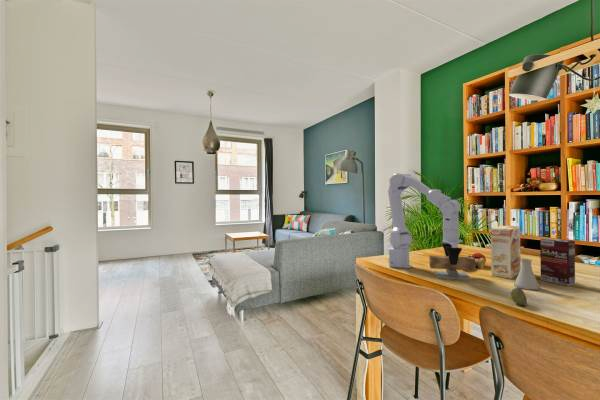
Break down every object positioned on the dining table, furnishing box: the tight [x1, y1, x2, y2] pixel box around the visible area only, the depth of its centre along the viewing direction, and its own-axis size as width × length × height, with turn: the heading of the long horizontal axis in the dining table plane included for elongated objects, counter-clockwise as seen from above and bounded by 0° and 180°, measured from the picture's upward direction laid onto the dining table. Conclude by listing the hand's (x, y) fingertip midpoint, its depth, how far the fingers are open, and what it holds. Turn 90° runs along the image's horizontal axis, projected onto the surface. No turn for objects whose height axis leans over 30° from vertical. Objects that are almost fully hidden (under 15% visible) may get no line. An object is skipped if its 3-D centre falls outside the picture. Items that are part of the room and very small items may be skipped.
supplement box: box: [539, 237, 576, 287], centre depth 102 cm, size 9×5×16 cm, turn 23°
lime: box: [510, 287, 528, 307], centre depth 82 cm, size 4×5×5 cm
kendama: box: [462, 252, 487, 272], centre depth 125 cm, size 8×6×18 cm
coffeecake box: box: [490, 225, 521, 280], centre depth 115 cm, size 15×7×20 cm, turn 129°
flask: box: [513, 257, 541, 291], centre depth 98 cm, size 7×7×10 cm
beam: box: [428, 255, 476, 271], centre depth 113 cm, size 16×4×4 cm, turn 72°
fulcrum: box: [433, 269, 473, 281], centre depth 113 cm, size 12×9×3 cm
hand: (451, 262), depth 113 cm, fingers open, 7 cm apart
